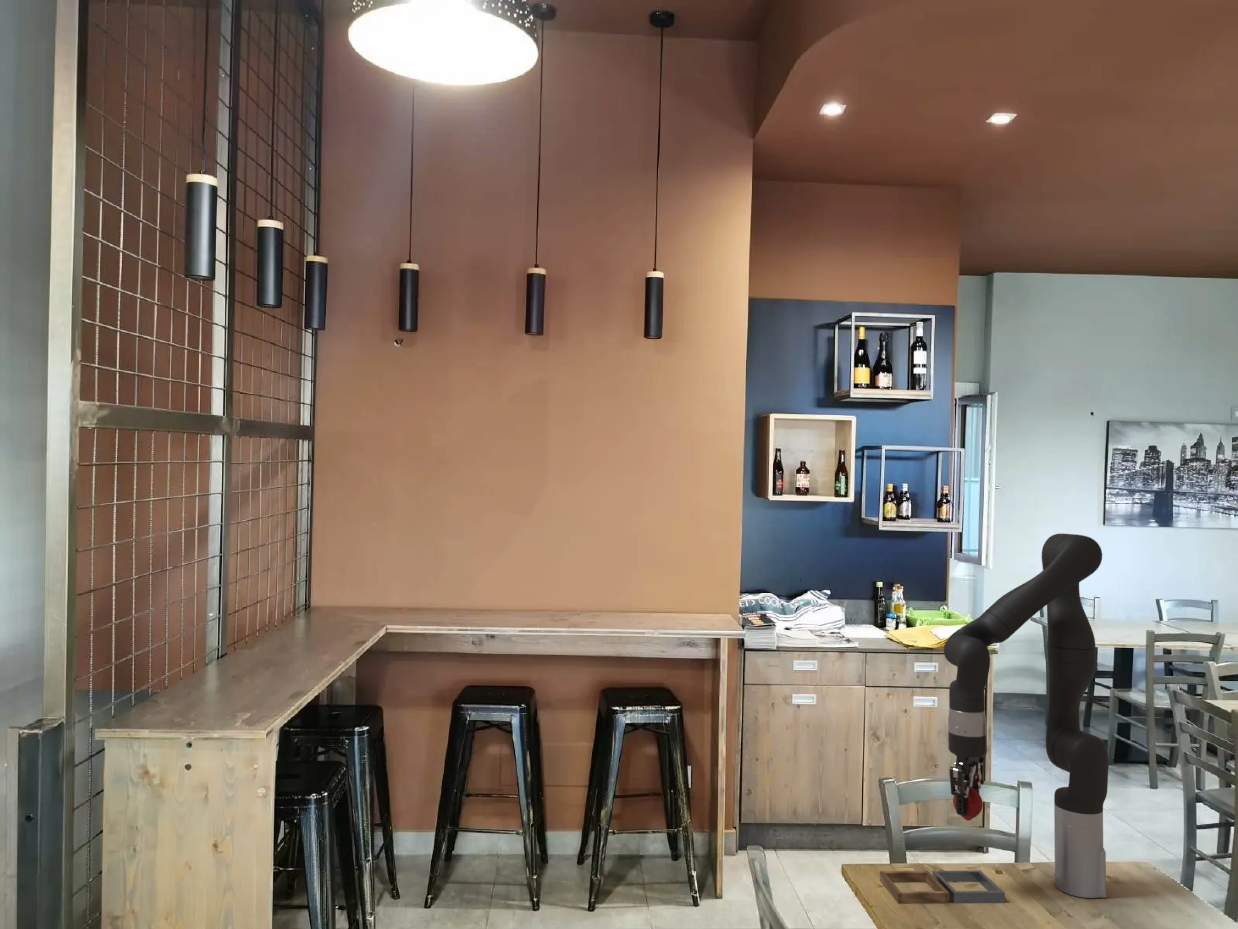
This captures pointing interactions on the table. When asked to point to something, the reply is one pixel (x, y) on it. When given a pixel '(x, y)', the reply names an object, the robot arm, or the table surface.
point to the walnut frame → (914, 896)
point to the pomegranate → (972, 804)
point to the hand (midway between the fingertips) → (968, 810)
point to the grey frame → (988, 896)
